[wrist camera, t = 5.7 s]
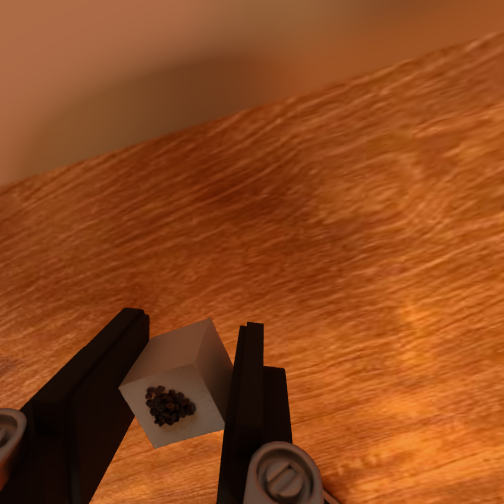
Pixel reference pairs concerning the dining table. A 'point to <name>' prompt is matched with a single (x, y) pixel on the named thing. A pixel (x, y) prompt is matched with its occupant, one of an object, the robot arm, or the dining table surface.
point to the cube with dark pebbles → (180, 384)
